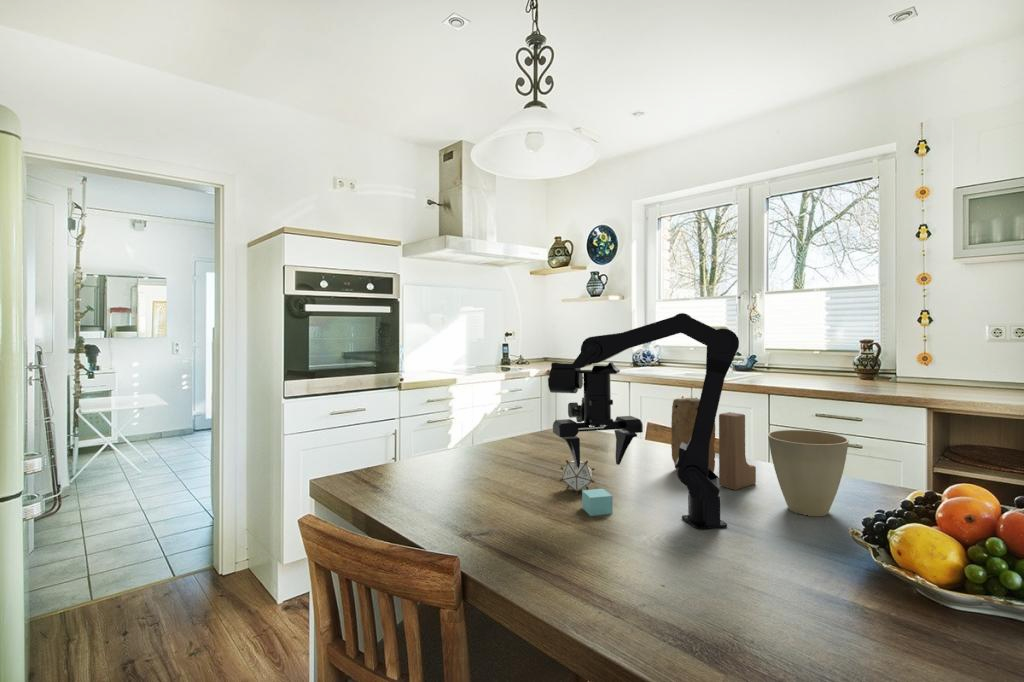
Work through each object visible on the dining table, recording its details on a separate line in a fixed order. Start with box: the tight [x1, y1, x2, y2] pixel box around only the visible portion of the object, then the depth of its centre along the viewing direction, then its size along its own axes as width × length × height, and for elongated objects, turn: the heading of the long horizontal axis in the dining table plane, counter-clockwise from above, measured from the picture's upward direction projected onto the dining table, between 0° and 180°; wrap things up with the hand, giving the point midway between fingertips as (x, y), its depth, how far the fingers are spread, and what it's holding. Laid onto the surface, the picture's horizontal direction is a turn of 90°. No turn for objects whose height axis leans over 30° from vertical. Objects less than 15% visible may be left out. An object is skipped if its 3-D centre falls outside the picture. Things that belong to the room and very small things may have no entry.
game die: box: [558, 459, 595, 495], centre depth 124 cm, size 9×8×10 cm
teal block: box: [581, 488, 614, 517], centre depth 111 cm, size 5×5×4 cm
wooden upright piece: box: [670, 397, 716, 473], centre depth 139 cm, size 11×8×20 cm
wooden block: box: [718, 411, 757, 491], centre depth 127 cm, size 9×4×18 cm, turn 123°
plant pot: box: [767, 429, 850, 517], centre depth 109 cm, size 15×15×16 cm
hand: (598, 465), depth 111 cm, fingers open, 9 cm apart
